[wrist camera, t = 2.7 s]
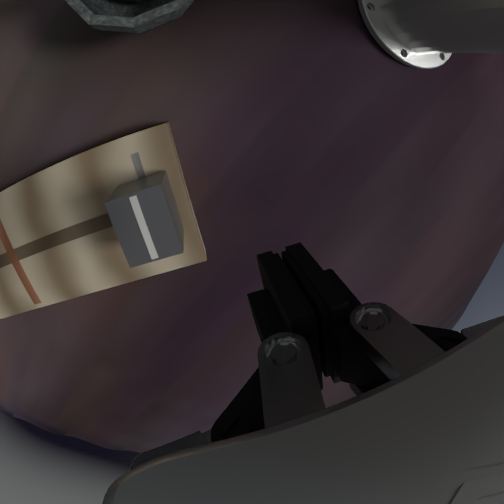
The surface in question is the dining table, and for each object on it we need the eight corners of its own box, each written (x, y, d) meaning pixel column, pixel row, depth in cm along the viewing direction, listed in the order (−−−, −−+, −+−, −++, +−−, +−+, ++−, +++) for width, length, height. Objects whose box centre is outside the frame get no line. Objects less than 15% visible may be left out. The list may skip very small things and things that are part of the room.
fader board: (168, 121, 23) (166, 122, 21) (205, 250, 29) (207, 260, 27) (-45, 219, 21) (-55, 226, 19) (0, 310, 27) (-7, 321, 25)
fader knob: (166, 170, 22) (160, 184, 19) (183, 228, 25) (183, 253, 21) (117, 186, 22) (103, 203, 18) (138, 242, 25) (130, 268, 21)
